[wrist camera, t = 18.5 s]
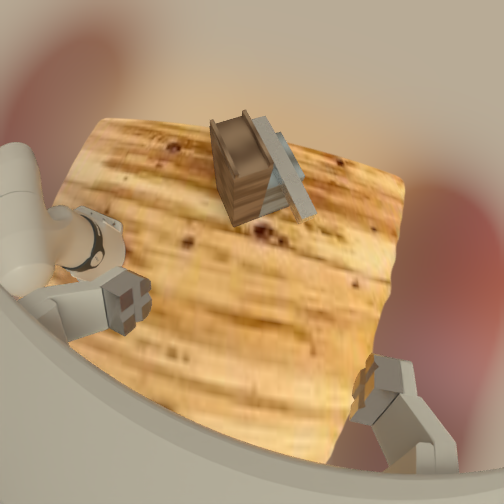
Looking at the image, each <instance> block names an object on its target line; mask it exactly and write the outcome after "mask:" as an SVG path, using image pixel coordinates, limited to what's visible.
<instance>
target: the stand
mask: <svg viewBox="0 0 504 504" xmlns="http://www.w3.org/2000/svg"><path fill="white" fill-rule="evenodd" d="M210 135H211V144H212V152H213V160H214V169H215V177H216V184H217V189H218V192H219V194H220V196H221V199H222V201H223V204H224V206H225V208H226V211H227V213H228V216H229V218H230V220H231V223H232V225H233V227H236V226H239V225H241V224H244V223H246V222H249V221H251V220H254V219H257V218H259V217H262V216H265V215H267V214H270V213H272V212H275V211H278V210H280V209H283V208H286V207H288V206H289V204H288V202H287V200H286V198H285V196H284V194H283V192H282V189H281V187H280V185H279V183H278V181H277V179H276V177H275V175H274V173H273V171H272V170H273V167H274V166H273V164H274V161H273V159H272V157H271V155H270V153H269V152H268V150H267V148H266V146H265V144H264V142H263V140H262V138H261V137H260V135H259V133H258V131H257V129H256V127H255V125H254V124H253V122H252V120H251V118H250V116H249V115H248V113H247V111H246V110H243V111H242V116H240V117H237V118H233V119H230V120H227V121H223V122H220V123H217V124H215V122H214V120H210ZM276 135H277V137H278V139H279V141H280V142H281V144H282V146H283V148H284V150H285V152H286V153H287V155H288V157H289V159H290V161H291V163H292V165H293V166H294V168H295V170H296V172H297V174H298V176H299V178H300V180H301V182H302V181H303V179H304V177H305V175H304V173H303V172H302V170H301V168H300V166H299V164H298V162H297V160H296V158H295V157H294V155H293V153H292V151H291V149H290V148H289V146H288V144H287V142H286V141H285V139H284V137H283V135H282V134H281V132H279V133H276Z"/></svg>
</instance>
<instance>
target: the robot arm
mask: <svg viewBox="0 0 504 504" xmlns="http://www.w3.org/2000/svg"><path fill="white" fill-rule="evenodd" d="M114 223H115V225H114V226H113V224H114ZM122 231H123V225H122V223H121V222H119V221H117V220H114V219H112V218H110V217H107V216H105V215H103V214H100V213H98V212H96V211H93V210H91V209H89V208H86V207H84V206H80V207H78V208H76V209H73V210H72V209H70V208H69V207H67V206H63V205H58V206H53V207H51V208H49V209H46V206H45V203H44V199H43V192H42V185H41V177H40V170H39V167H38V164H37V161H36V158H35V156H34V153H33V151H32V149H31V148H30V147H29V146H28V145H26V144H23V143H18V142H13V143H8V144H6V145H3V146H1V147H0V504H504V468H499V469H493V470H486V471H478V472H469V473H459V469H458V456H457V447H456V442H455V441H454V440H453V438H452V437H451V436H450V434H449V433H448V432H447V430H446V429H445V428H444V426H443V425H442V424H441V423H440V421H439V420H438V419H437V417H436V416H435V415H434V413H433V412H432V411H431V409H430V408H429V407H428V406H427V404H426V403H425V402H424V400H423V399H422V398H421V397H417V389H416V382H415V376H414V370H413V364H412V362H411V361H406V360H401V359H395V358H390V357H386V356H382V355H378V354H374V353H371V354H370V355H369V357H368V358H367V360H366V368H364V369H362V370H360V372H359V374H358V376H357V377H356V380H355V383H354V386H353V391H352V396H353V398H354V400H355V401H354V402H353V403H352V405H351V410H350V420H349V421H352V422H357V423H361V424H366V425H370V426H372V429H373V431H374V434H375V436H376V438H377V440H378V443H379V445H380V447H381V449H382V451H383V454H384V456H385V458H386V460H387V463H388V465H389V468H387V469H386V470H385V471H383V472H372V471H364V470H356V469H350V468H343V467H337V466H332V465H327V464H322V463H317V462H313V461H308V460H304V459H300V458H296V457H292V456H288V455H285V454H281V453H278V452H274V451H271V450H268V449H264V448H261V447H258V446H255V445H252V444H249V443H246V442H243V441H241V440H238V439H235V438H232V437H230V436H227V435H225V434H222V433H220V432H217V431H215V430H212V429H210V428H207V427H205V426H203V425H201V424H198V423H196V422H194V421H192V420H189V419H187V418H185V417H183V416H181V415H179V414H177V413H175V412H173V411H171V410H169V409H167V408H165V407H163V406H161V405H159V404H157V403H155V402H154V401H152V400H150V399H148V398H146V397H144V396H143V395H141V394H139V393H137V392H136V391H134V390H132V389H131V388H129V387H127V386H126V385H124V384H122V383H121V382H119V381H118V380H116V379H115V378H113V377H111V376H110V375H108V374H107V373H105V372H104V371H102V370H101V369H99V368H98V367H96V366H95V365H94V364H92V363H91V362H89V361H88V360H86V359H85V358H84V357H82V356H81V355H80V354H78V353H77V352H76V351H74V350H73V349H72V348H70V346H69V343H68V342H70V341H73V340H76V339H79V338H82V337H85V336H88V335H91V334H94V333H97V332H100V331H103V330H106V329H108V328H110V329H112V330H114V331H116V332H118V333H120V334H121V335H123V336H126V335H127V334H128V333H129V332H131V331H132V330H133V329H134V328H135V327H136V322H139V321H143V320H144V319H145V318H146V317H147V316H148V314H149V312H150V310H151V306H152V299H151V297H150V295H149V293H148V292H149V291H150V290H151V281H150V280H149V279H148V278H146V277H143V276H141V275H139V274H137V273H134V272H132V271H130V270H127V269H125V268H123V267H122V265H123V263H124V259H125V244H124V240H123V237H122ZM55 265H60V266H61V267H63V268H65V269H66V270H67V271H68V272H70V273H71V276H73V277H75V278H77V280H78V281H79V282H76V283H69V284H63V285H56V286H49V287H45V286H46V285H47V284H48V283H49V281H50V280H51V278H52V276H53V274H54V268H55ZM11 295H13V296H17V297H23V298H21V299H20V300H18V301H16V300H15V299H14V298H13V297H12V296H11Z"/></svg>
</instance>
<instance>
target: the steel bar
mask: <svg viewBox="0 0 504 504" xmlns="http://www.w3.org/2000/svg"><path fill="white" fill-rule="evenodd" d="M252 122H253V124H254V125H255V127H256V129H257V131H258V133H259V135H260V137H261V138H262V140H263V142H264V144H265V146H266V148H267V150H268V152H269V153H270V155H271V157H272V159H273V161H274V164H273V166H274V167H273V170H272V171H273V173H274V175H275V177H276V179H277V181H278V183H279V185H280V187H281V189H282V192H283V194H284V196H285V198H286V200H287V202H288V204H289V206H290V208H291V210H292V212H293V214H294V217H295V219H296V221H297V223H298V224H300V223H303V222H305V221H308V220H311V219H313V218H314V217H315V215H316V214H317V212H316V210H315V208H314V206H313V204H312V202H311V200H310V198H309V196H308V194H307V192H306V190H305V188H304V186H303V184H302V182H301V180H300V178H299V176H298V174H297V172H296V170H295V168H294V166H293V165H292V163H291V161H290V159H289V157H288V155H287V153H286V152H285V150H284V148H283V146H282V144H281V142H280V141H279V139H278V137H277V135H276V133H275V132H274V130H273V128H272V126H271V125H270V123H269V121H268V120H267V118H266V116H263V117H259V118H255V119H252Z"/></svg>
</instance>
